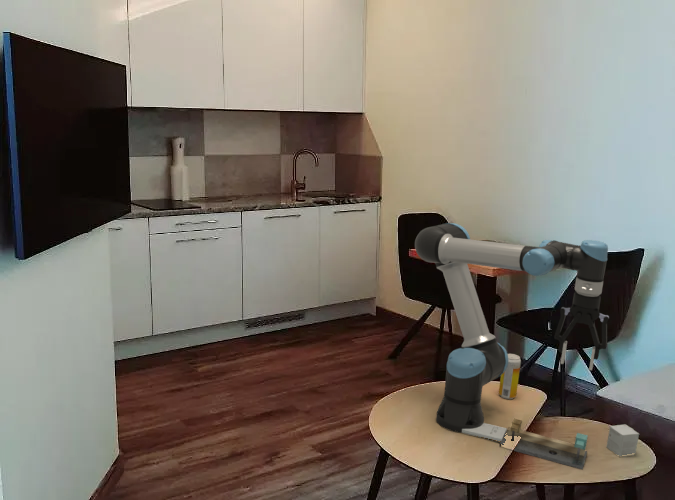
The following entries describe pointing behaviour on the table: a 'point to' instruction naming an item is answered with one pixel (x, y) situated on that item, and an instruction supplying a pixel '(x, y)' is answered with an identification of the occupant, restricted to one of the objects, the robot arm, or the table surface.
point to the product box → (622, 440)
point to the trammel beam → (540, 438)
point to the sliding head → (580, 442)
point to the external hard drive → (487, 431)
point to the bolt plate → (549, 453)
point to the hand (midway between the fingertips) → (576, 365)
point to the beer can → (510, 378)
